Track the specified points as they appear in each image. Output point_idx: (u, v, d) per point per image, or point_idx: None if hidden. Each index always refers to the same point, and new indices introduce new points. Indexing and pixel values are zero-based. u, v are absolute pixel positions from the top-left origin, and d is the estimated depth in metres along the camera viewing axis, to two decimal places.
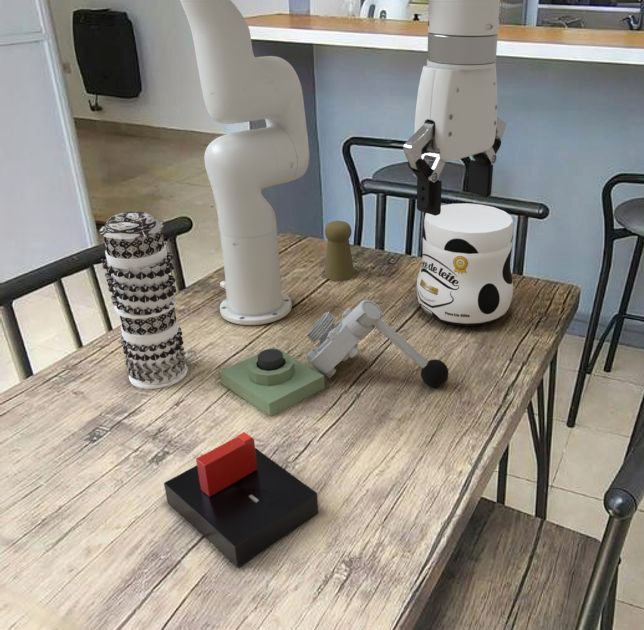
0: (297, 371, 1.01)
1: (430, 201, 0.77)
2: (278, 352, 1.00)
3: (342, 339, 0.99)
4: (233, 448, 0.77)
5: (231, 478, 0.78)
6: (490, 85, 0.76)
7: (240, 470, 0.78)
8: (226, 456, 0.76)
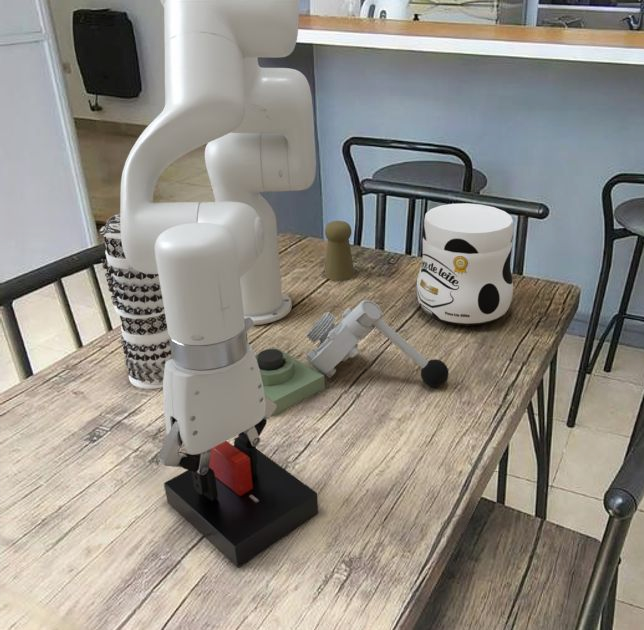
0: (297, 371, 1.01)
1: (204, 489, 0.75)
2: (278, 352, 1.00)
3: (342, 339, 0.99)
4: (224, 453, 0.76)
5: (220, 476, 0.78)
6: (245, 372, 0.72)
7: (227, 478, 0.77)
8: (216, 452, 0.76)
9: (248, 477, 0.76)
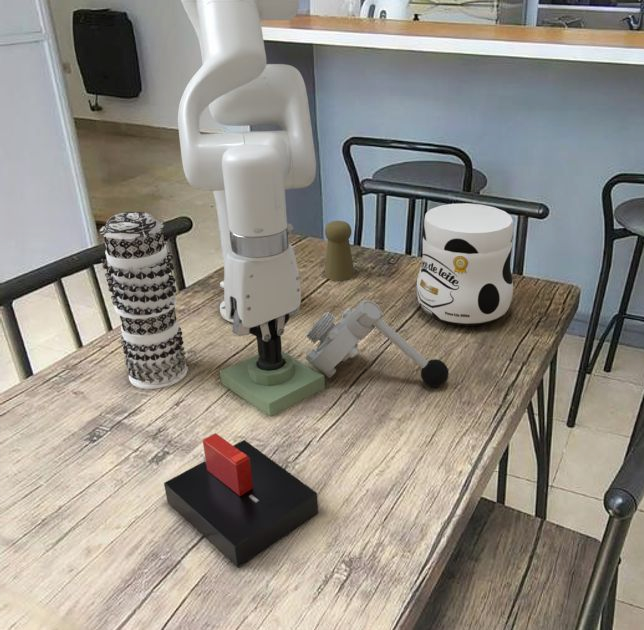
0: (297, 371, 1.01)
1: (266, 354, 0.97)
2: None
3: (342, 339, 0.99)
4: (224, 453, 0.76)
5: (220, 476, 0.78)
6: (287, 264, 0.92)
7: (227, 478, 0.77)
8: (216, 452, 0.76)
9: (248, 477, 0.76)
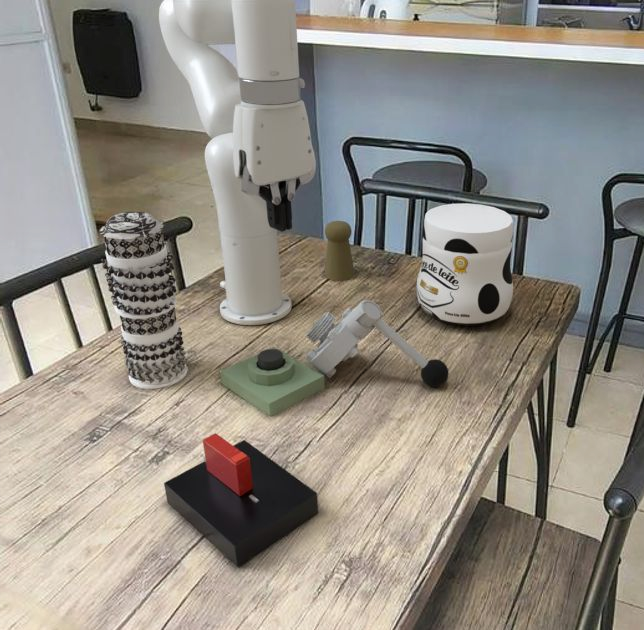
0: (297, 371, 1.01)
1: (276, 220, 0.93)
2: (278, 352, 1.00)
3: (342, 339, 0.99)
4: (224, 453, 0.76)
5: (220, 476, 0.78)
6: (298, 120, 0.89)
7: (227, 478, 0.77)
8: (216, 452, 0.76)
9: (248, 477, 0.76)
